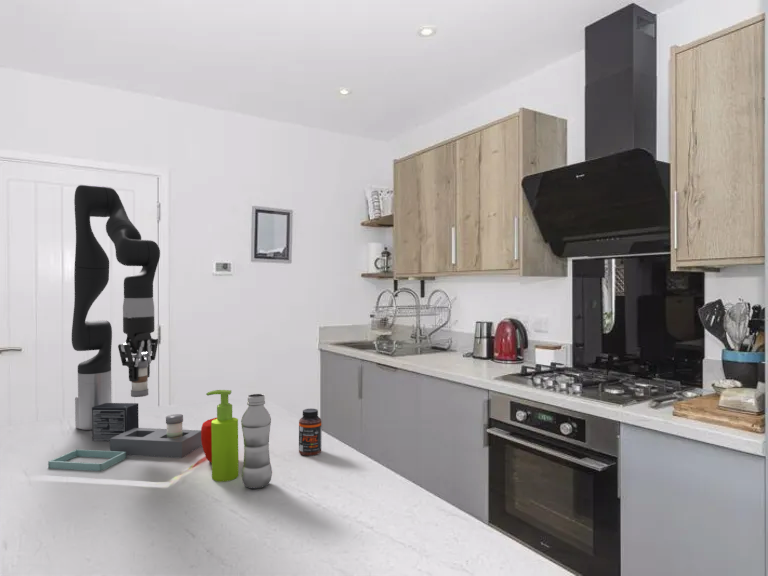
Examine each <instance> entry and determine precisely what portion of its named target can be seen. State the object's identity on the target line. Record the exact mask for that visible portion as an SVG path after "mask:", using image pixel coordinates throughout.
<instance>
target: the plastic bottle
mask: <svg viewBox="0 0 768 576" xmlns="http://www.w3.org/2000/svg"><path fill="white" fill-rule="evenodd" d="M265 399H266V397H265V394H264V393H254V394H253V393H252V394H248V395H247V403H246V404H247V405H246V406H248V407H247V408H246V410H245V411H244V412H243V415H242V417H241V420H240V423H241V431H242V436H243V449H244V451H243V465H242V470H241V479H242V480H241V481H242V483H243V485H244V486H245V487H246V488H249V489H260V488H264V487H266V486H268V485H269V484H270V482H271V480H272V476H273V469H272V464H271V459H270V447H269V446H270V444H269V443H270V431H271V423H272V417H271V414H270V412H269V411H268V410H267V408H266V407H265V404H266V400H265Z"/></svg>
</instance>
